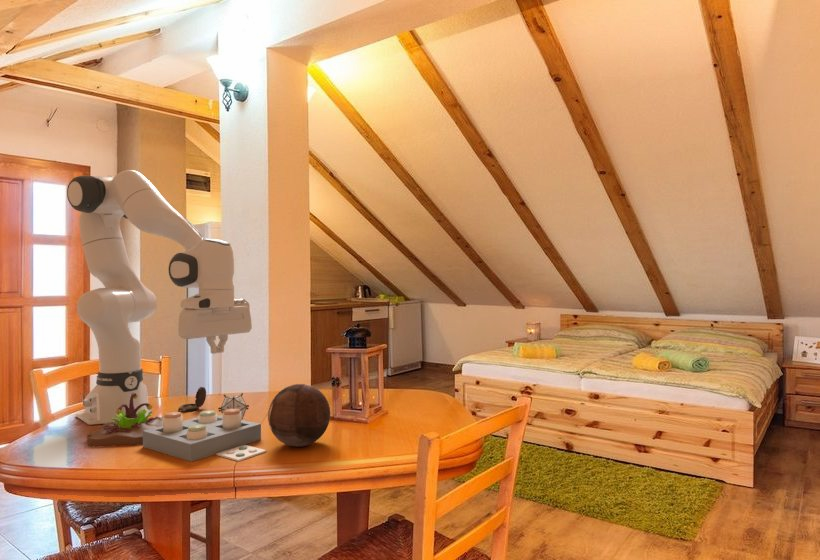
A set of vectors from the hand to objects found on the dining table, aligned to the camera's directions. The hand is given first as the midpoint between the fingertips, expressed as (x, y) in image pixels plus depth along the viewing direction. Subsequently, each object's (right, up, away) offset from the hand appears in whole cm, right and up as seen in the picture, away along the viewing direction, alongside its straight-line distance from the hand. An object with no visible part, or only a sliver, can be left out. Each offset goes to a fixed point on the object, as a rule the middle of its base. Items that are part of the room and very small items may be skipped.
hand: (217, 352), depth 146 cm
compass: (-18, -22, +28) cm, 40 cm away
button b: (-3, -21, 0) cm, 21 cm away
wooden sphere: (+24, -22, -9) cm, 33 cm away
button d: (+6, -20, -5) cm, 21 cm away
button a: (-8, -20, -8) cm, 23 cm away
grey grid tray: (-1, -22, -7) cm, 23 cm away
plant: (-23, -23, +2) cm, 32 cm away
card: (+11, -22, -15) cm, 29 cm away
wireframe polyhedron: (0, -22, +13) cm, 25 cm away
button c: (0, -22, -14) cm, 25 cm away
